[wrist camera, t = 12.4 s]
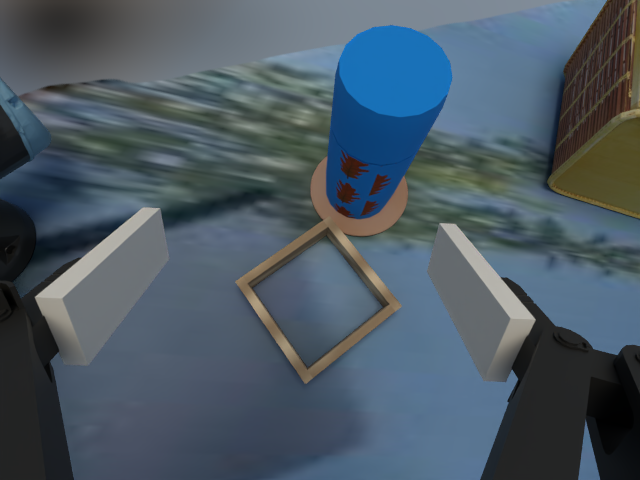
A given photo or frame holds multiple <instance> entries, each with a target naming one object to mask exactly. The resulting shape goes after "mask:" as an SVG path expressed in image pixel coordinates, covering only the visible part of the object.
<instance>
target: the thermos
mask: <svg viewBox="0 0 640 480" xmlns="http://www.w3.org/2000/svg"><path fill="white" fill-rule="evenodd" d="M451 81H452V72H451V65H450V61H449V60H448V58H447V56H446V55H445V53H444V51H443V50H442V48H441V47H440V46H439V45H438V44H436V43H435V42H434V41H433V40H432V39H431V38H429V37H428V36H427V35H424V34H422V33H420V32H418V31H416V30H413V29H411V28H406V27H399V26H393V25H390V26H381V27H373V28H371V29H369V30H366V31H364V32H361V33H359V34H357V35H356V36H355V37H354V38H353V39H352V40H351V41H350V42H349V43H348V44H346V46H345V48H344V50H343V52H342V55H341V57H340V59H339V63H338V67H337V70H336V75H335V85H334V95H333V106H332V116H331V126H330V136H329V146H328V157H327V167H326V195H327V197H328V200H329V202H330V204H331V205H332V207H333V208H334V209H335V210H336V211H337V212H338V213H340V214H342V215H344V216H346V217H348V218H354V219H364V218H370V217H372V216H374V215H376V214H377V213H379V212H380V211H381V210H382V209H383V207H384V206H385V205H386V204H387V202H388V201H389V200H390V198H391V197H392V196H393V194H394V192H395V190H396V189H397V187H398V185H399V183H400V182H401V180H402V178H403V176H404V175H405V173H406V171H407V169H408V168H409V166H410V164H411V162H412V161H413V159H414V157H415V155H416V154H417V152H418V150H419V148H420V146H421V145H422V143H423V141H424V139H425V138H426V136H427V134H428V132H429V131H430V129H431V127H432V125H433V124H434V122H435V120H436V118H437V117H438V115H439V113H440V111H441V110H442V108H443V105H444V102H445V100H446V97H447V94H448V91H449V88H450V85H451Z"/></svg>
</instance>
